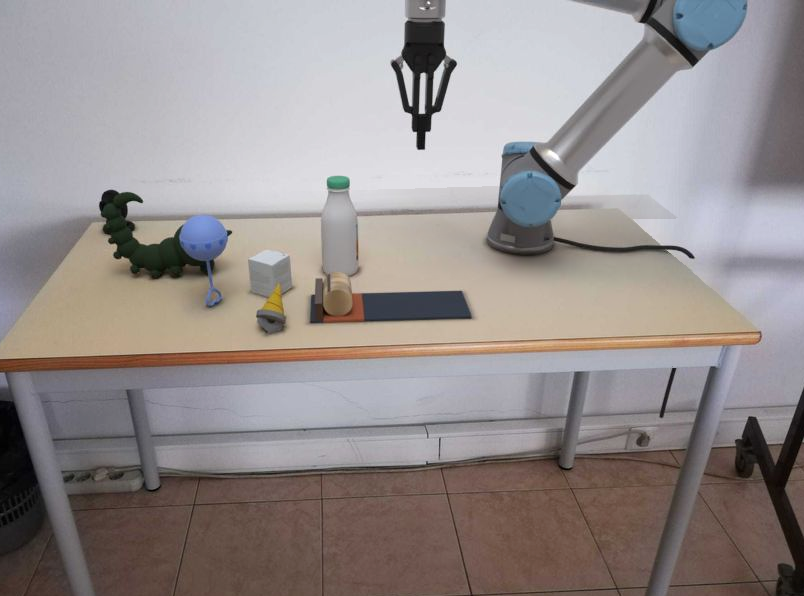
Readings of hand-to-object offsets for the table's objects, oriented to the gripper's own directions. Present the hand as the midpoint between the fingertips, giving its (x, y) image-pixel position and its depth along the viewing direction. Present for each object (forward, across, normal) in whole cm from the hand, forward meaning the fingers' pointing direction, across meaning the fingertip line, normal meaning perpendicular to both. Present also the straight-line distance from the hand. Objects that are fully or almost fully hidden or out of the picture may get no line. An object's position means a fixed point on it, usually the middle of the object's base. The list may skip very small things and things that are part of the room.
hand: (420, 148), depth 139 cm
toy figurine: (+25, -52, -4) cm, 58 cm away
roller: (+21, -18, -23) cm, 36 cm away
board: (+24, -8, -23) cm, 34 cm away
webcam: (+25, -71, +23) cm, 79 cm away
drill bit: (+25, -30, -29) cm, 48 cm away
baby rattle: (+25, -42, -20) cm, 53 cm away
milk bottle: (+25, -17, -5) cm, 30 cm away
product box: (+25, -31, -14) cm, 42 cm away
